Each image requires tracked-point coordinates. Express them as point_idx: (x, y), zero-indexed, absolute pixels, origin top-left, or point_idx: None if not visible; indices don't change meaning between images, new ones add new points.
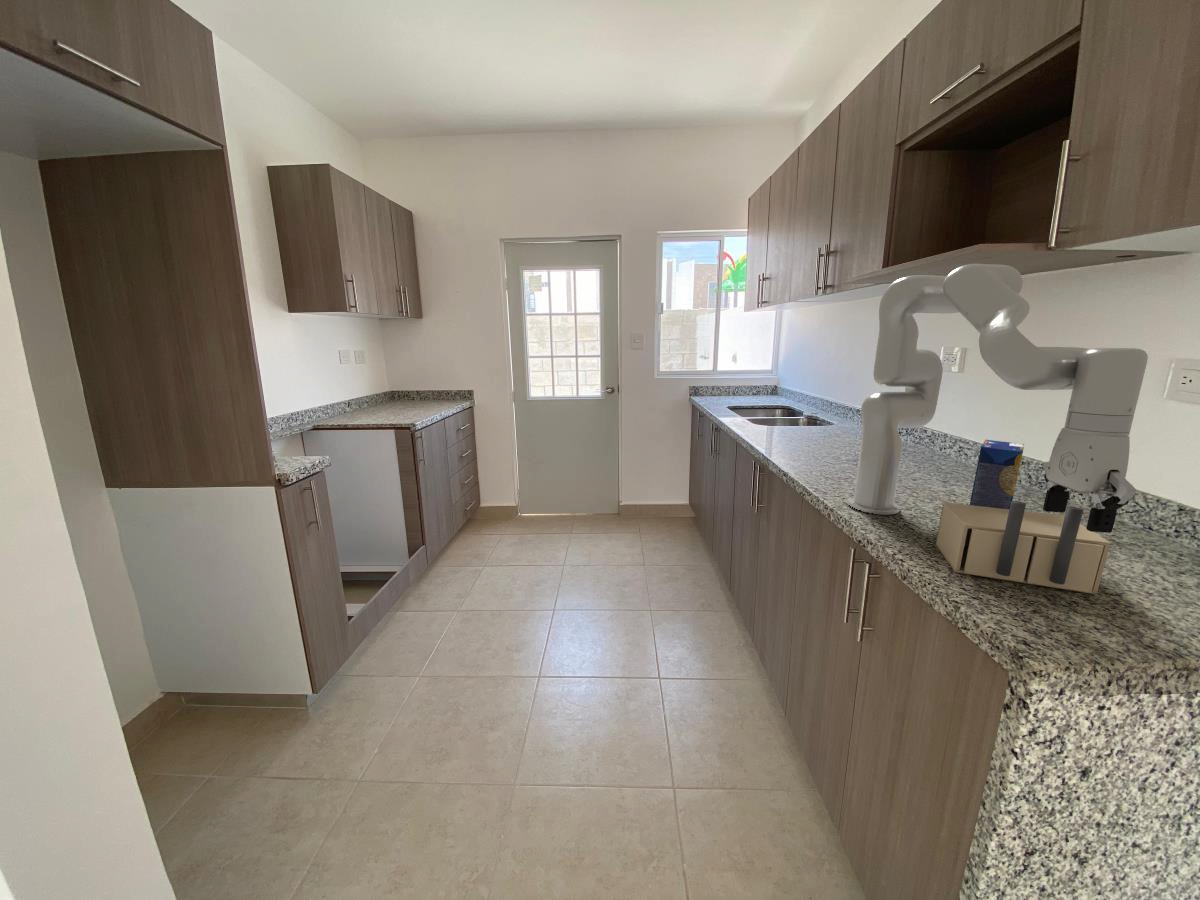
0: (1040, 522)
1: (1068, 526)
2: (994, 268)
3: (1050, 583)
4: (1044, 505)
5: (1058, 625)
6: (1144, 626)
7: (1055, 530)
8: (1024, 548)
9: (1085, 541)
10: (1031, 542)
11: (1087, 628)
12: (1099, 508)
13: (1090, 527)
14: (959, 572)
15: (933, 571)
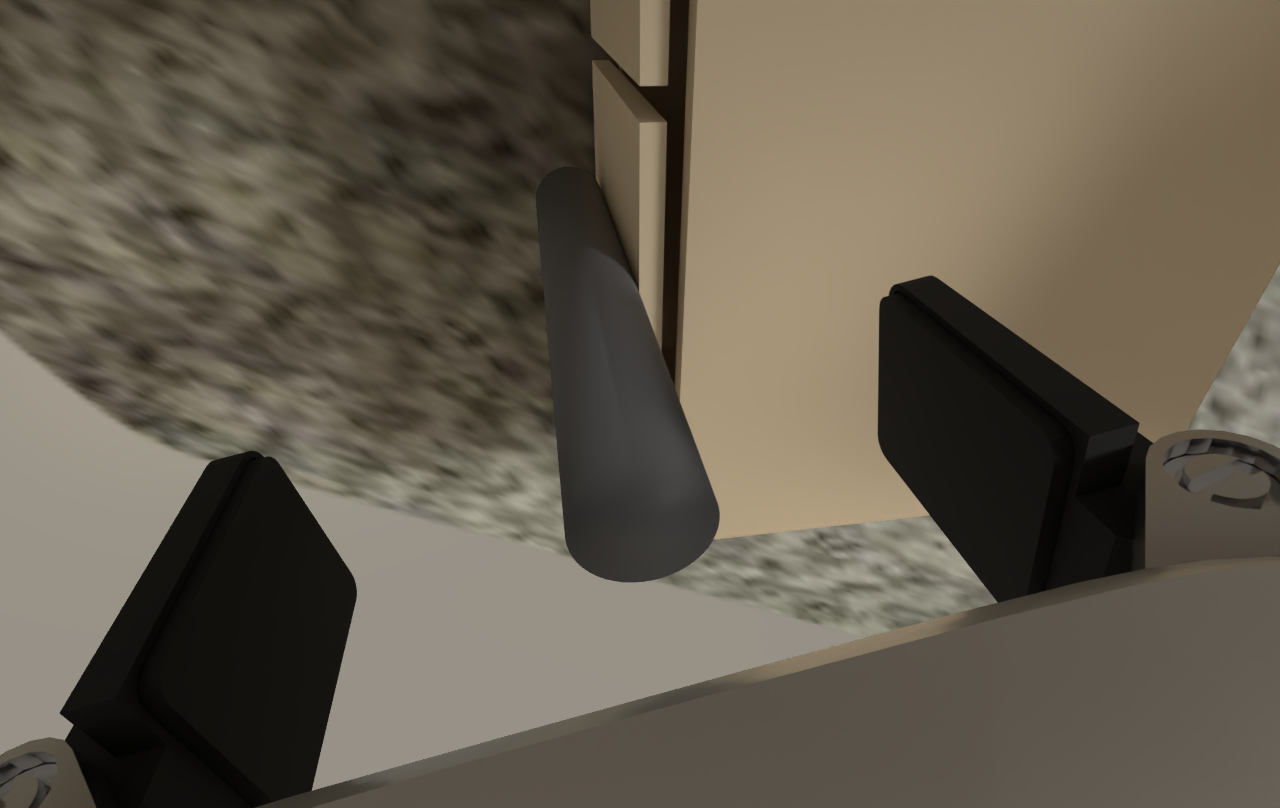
0: (1010, 279)
1: (565, 365)
2: None
3: (597, 179)
4: (950, 300)
5: (58, 23)
6: (365, 406)
7: (832, 321)
8: (621, 14)
9: None
10: (630, 68)
11: (149, 173)
12: (45, 764)
13: (199, 488)
14: None
15: None
